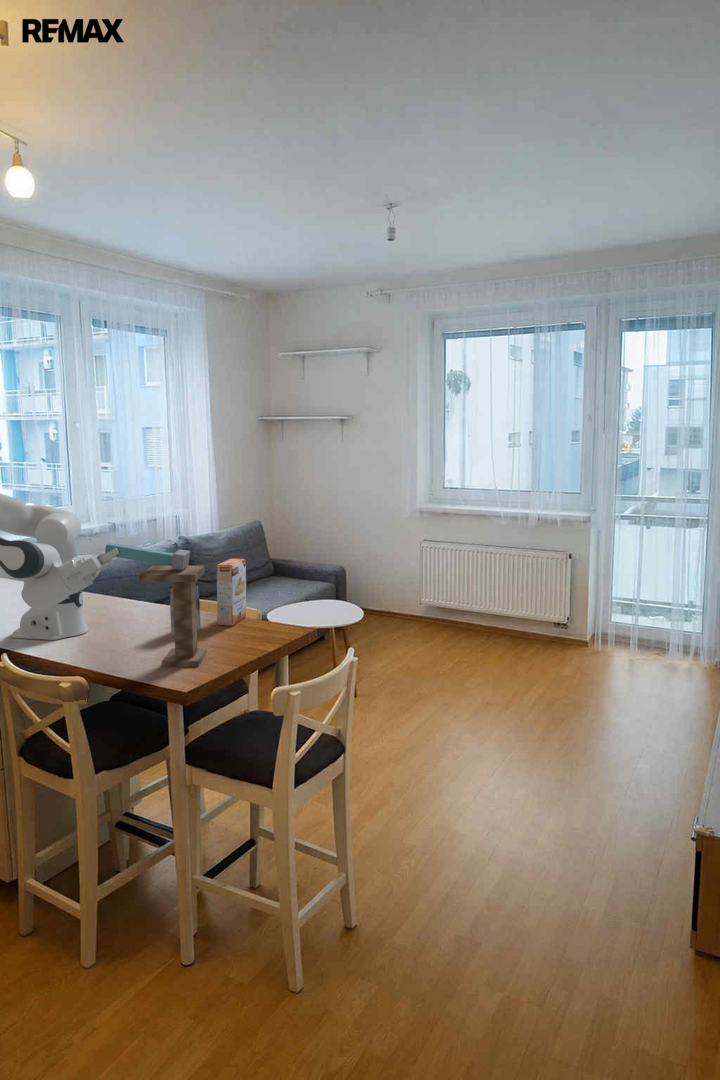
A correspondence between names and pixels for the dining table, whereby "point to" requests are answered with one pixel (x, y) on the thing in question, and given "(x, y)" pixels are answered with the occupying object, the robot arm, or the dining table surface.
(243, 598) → the cracker box
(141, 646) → the dining table surface
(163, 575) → the stand
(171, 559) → the hammer
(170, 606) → the coffee box
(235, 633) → the dining table surface
